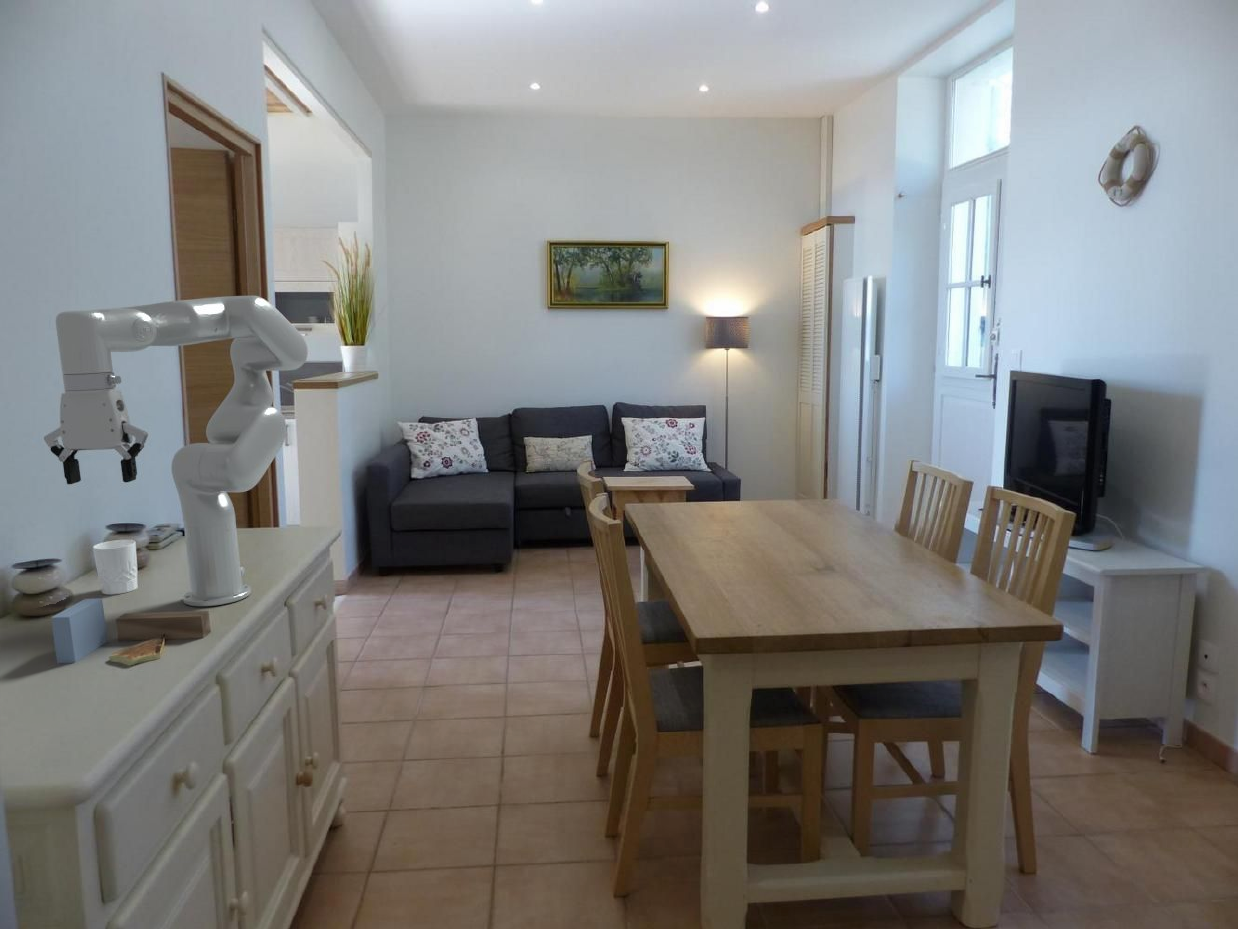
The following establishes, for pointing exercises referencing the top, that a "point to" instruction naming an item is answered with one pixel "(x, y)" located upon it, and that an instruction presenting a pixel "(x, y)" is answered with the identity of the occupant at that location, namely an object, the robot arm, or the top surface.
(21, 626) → the top surface
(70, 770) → the top surface
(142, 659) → the shard
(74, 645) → the block
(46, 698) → the top surface
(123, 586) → the white cup
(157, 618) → the bar
